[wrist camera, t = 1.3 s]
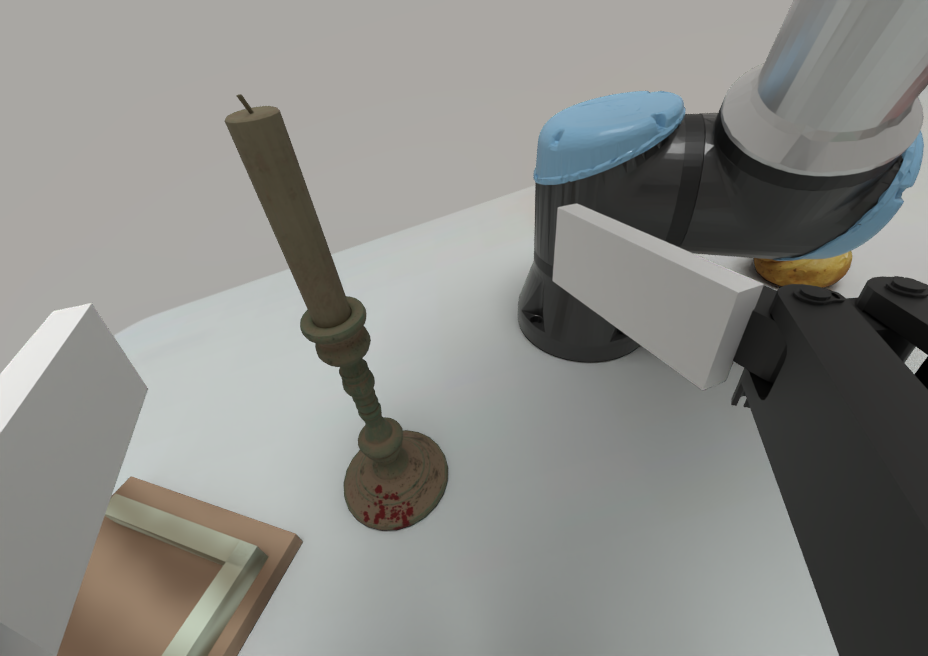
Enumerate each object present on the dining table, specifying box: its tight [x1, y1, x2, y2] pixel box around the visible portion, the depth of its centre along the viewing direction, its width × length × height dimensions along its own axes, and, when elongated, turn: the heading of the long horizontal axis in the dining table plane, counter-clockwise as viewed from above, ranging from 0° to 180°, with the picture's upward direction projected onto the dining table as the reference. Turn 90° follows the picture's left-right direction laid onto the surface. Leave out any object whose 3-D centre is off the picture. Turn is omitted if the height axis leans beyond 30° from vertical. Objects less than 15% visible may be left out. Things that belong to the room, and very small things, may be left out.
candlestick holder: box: [225, 95, 448, 530], centre depth 26 cm, size 9×9×30 cm
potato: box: [754, 251, 852, 288], centre depth 50 cm, size 13×10×8 cm
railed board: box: [57, 477, 302, 656], centre depth 27 cm, size 20×18×4 cm
